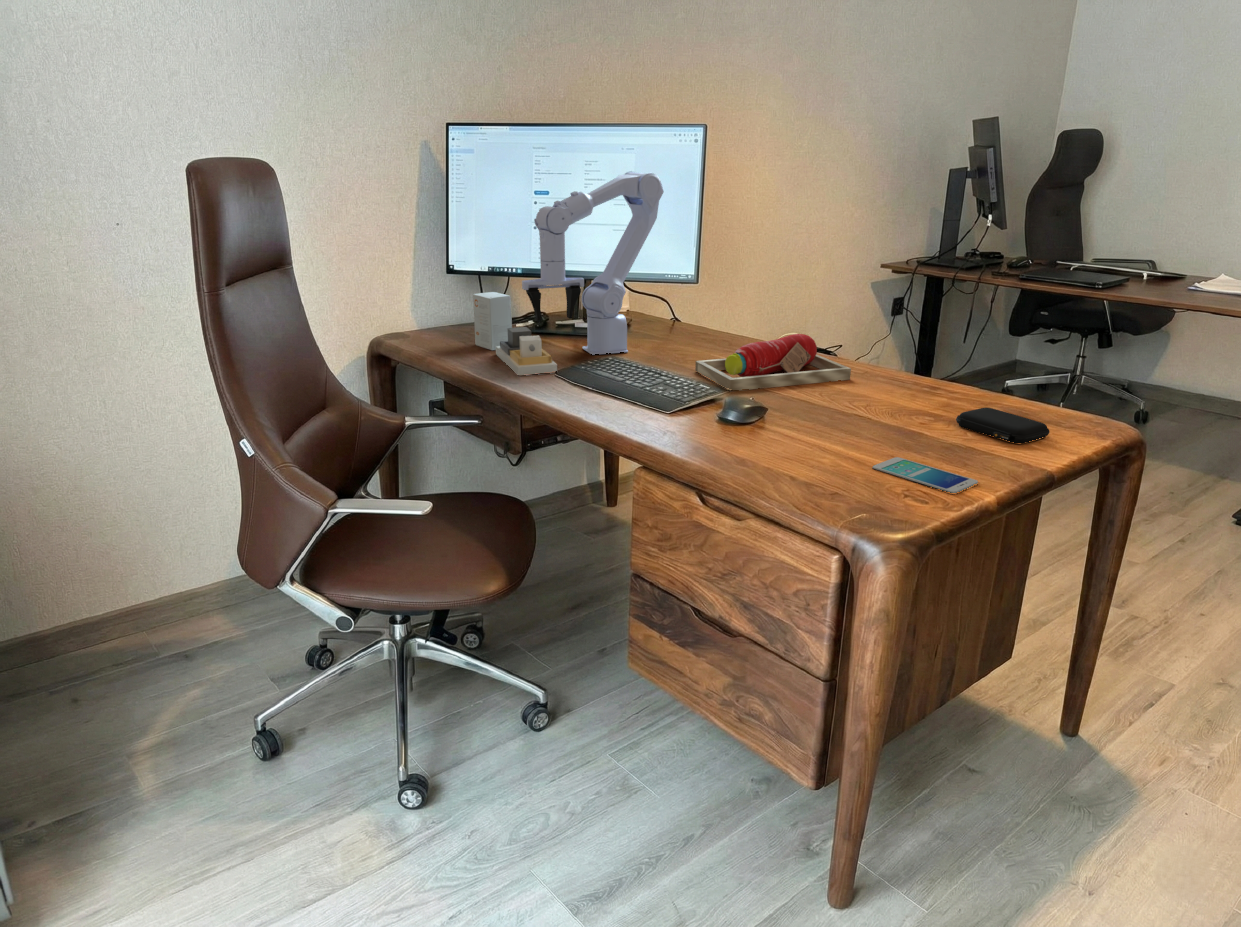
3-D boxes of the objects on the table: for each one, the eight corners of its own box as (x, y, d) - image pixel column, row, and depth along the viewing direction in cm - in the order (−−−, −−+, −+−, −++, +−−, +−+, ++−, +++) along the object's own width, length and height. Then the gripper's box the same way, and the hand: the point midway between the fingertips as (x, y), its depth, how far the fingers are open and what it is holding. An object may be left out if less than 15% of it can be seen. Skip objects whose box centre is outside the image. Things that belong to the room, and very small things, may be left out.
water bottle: (836, 343, 204) (758, 360, 190) (828, 375, 208) (751, 395, 194) (797, 325, 212) (719, 340, 198) (790, 356, 216) (713, 374, 202)
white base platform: (532, 351, 224) (531, 337, 223) (557, 372, 205) (556, 357, 204) (496, 354, 221) (495, 340, 220) (518, 376, 202) (517, 360, 201)
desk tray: (808, 361, 216) (809, 351, 215) (850, 379, 201) (851, 368, 200) (695, 371, 206) (695, 361, 206) (729, 391, 191) (730, 379, 190)
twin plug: (526, 347, 220) (525, 326, 218) (533, 353, 214) (532, 332, 212) (508, 348, 218) (507, 328, 217) (514, 354, 213) (514, 333, 211)
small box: (513, 347, 229) (511, 295, 224) (491, 350, 225) (489, 298, 221) (496, 341, 235) (493, 291, 230) (474, 345, 231) (472, 293, 226)
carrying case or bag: (946, 427, 170) (1015, 450, 158) (948, 412, 169) (1017, 433, 157) (983, 419, 175) (1052, 440, 163) (985, 403, 174) (1055, 423, 162)
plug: (539, 356, 211) (539, 335, 209) (542, 363, 205) (542, 341, 203) (520, 357, 210) (519, 336, 208) (522, 364, 204) (521, 342, 202)
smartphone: (897, 456, 152) (980, 481, 142) (896, 461, 153) (979, 485, 142) (870, 466, 148) (954, 492, 137) (869, 471, 148) (953, 497, 137)
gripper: (577, 256, 216) (578, 313, 221) (517, 259, 212) (519, 317, 216) (586, 260, 210) (587, 319, 215) (525, 263, 205) (527, 323, 210)
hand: (554, 318), depth 215 cm, fingers open, 7 cm apart
